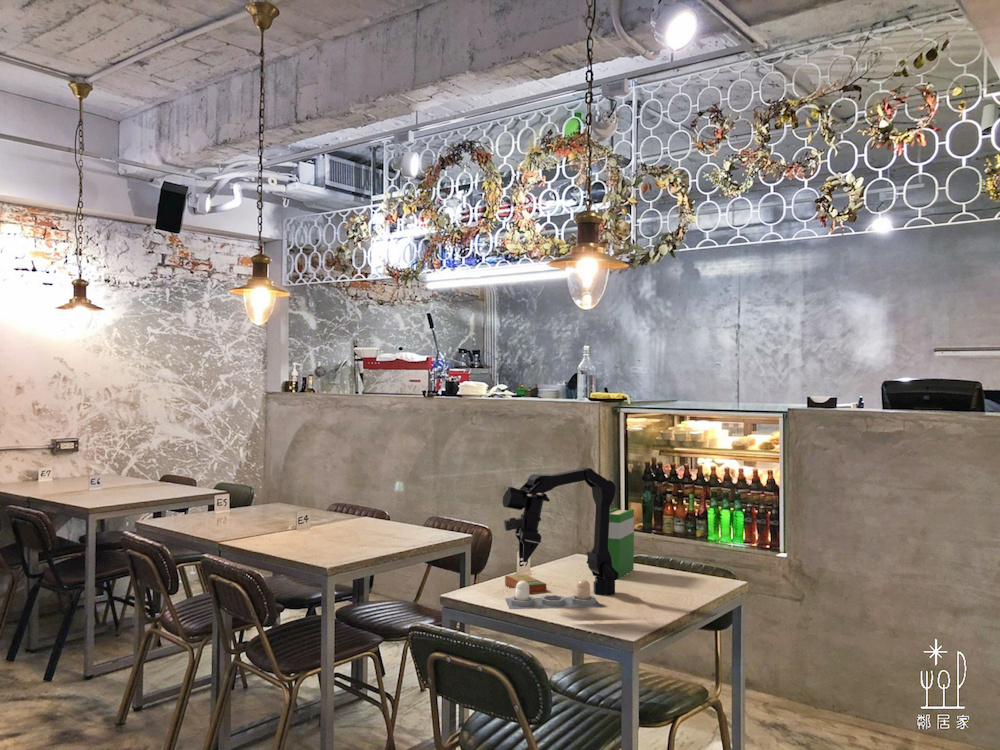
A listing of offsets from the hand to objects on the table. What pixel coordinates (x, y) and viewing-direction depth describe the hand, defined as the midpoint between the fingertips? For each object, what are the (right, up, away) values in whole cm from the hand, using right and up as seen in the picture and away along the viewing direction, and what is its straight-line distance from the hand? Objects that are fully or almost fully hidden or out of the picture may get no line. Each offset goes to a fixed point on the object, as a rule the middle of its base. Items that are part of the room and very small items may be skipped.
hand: (522, 560), depth 254 cm
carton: (+2, -16, +19) cm, 25 cm away
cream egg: (0, -14, -2) cm, 14 cm away
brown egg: (+20, -14, 0) cm, 24 cm away
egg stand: (+10, -15, -1) cm, 18 cm away
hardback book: (+38, -16, +46) cm, 62 cm away
